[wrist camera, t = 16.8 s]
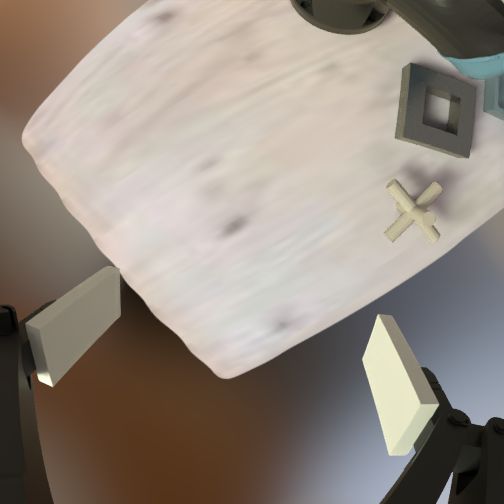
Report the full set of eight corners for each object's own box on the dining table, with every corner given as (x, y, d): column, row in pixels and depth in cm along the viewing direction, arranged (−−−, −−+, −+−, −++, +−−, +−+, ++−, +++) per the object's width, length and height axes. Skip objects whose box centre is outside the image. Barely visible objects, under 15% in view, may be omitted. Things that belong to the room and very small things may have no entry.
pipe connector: (402, 157, 41) (431, 158, 32) (442, 207, 43) (475, 220, 33) (355, 204, 44) (373, 217, 35) (398, 252, 45) (422, 276, 36)
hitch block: (402, 68, 37) (410, 62, 34) (464, 91, 37) (475, 87, 33) (394, 138, 41) (402, 137, 37) (457, 157, 40) (469, 158, 37)
